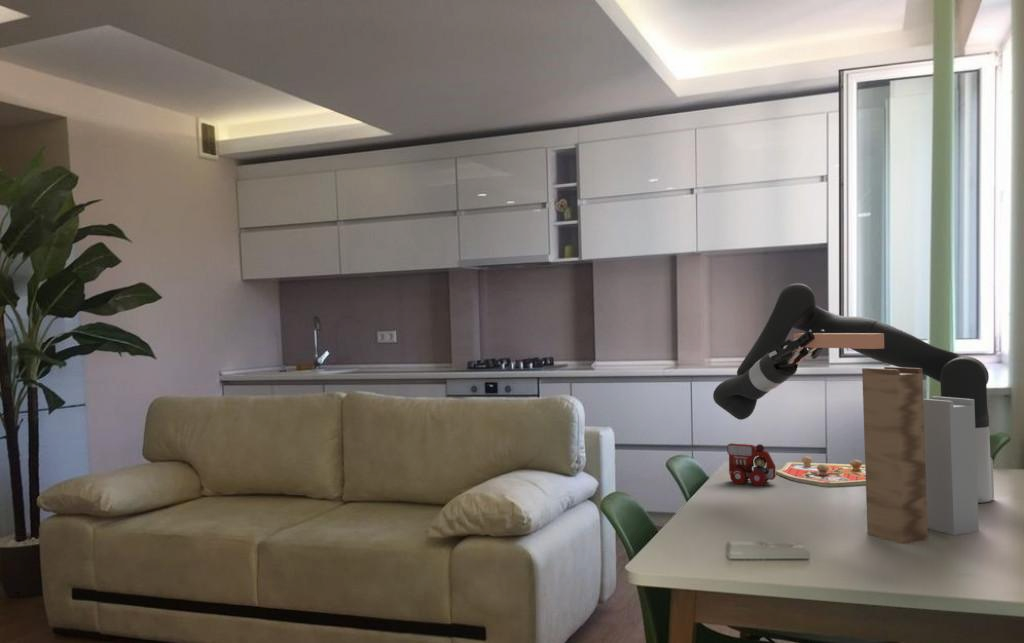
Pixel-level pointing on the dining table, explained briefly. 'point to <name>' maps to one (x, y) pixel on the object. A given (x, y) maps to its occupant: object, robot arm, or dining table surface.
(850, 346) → the stick
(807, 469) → the knob puzzle
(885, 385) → the tower
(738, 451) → the toy fire truck
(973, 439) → the cradle
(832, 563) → the dining table surface
